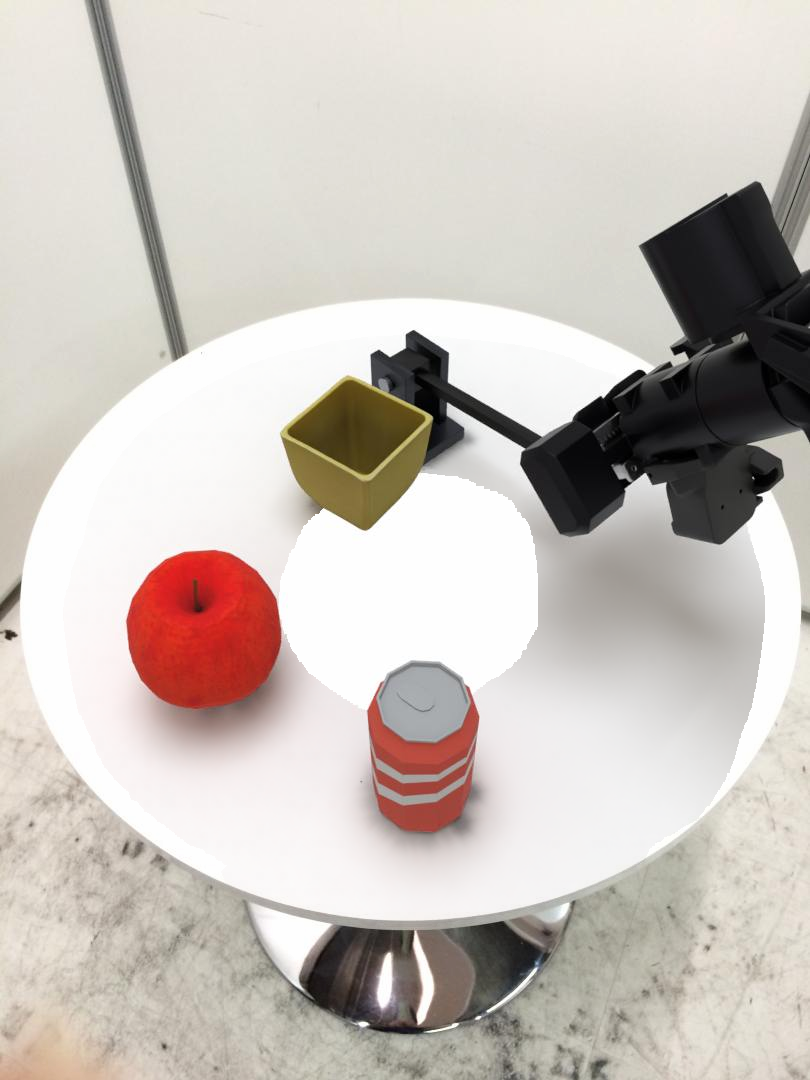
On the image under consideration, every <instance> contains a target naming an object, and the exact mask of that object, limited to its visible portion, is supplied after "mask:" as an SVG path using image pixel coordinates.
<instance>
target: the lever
mask: <svg viewBox="0 0 810 1080" xmlns="http://www.w3.org/2000/svg"><path fill="white" fill-rule="evenodd" d="M390 357H391V358H392V359H394V360H395V361H396V362H398V363H399V364H401V365H402V366H404V367H405V368H407V369H408V370H410V371H411V372H412V373H414V393H415V392H417V391H418V390H420V389H421V388H424V389H425V390H427V391H429V392H430V393H432V394H434V395H435V396H437V397H439V398H440V399H442V400H444V401H445V402H447V404H449V405H451V406H452V407H454V408H456V409H457V410H459V411H460V412H462V413H464V414H465V415H467V416H469V417H471V418H473V419H474V420H476V421H477V422H479V423H481V424H482V425H484V426H486V427H487V428H489V429H491V430H493V431H494V432H496V433H498V434H499V435H501V436H503V437H504V438H506V439H508V440H509V441H511V442H513V443H515V444H516V445H518V446H520V447H521V448H523V449H524V450H525V449H526V448H528V447H529V446H531V445H532V444H533V443H535V442H536V441H538V440H539V439H540V438H542V437H543V436H542V435H540V434H538V433H537V432H535V431H533V430H532V429H529V428H528V427H527V426H524V425H523V424H521V423H520V422H517V421H516V420H514V419H512V418H511V417H509V416H508V415H505V414H504V413H502V412H500V411H499V410H496V409H495V408H493V407H491V406H490V405H489V404H486V403H485V402H483V401H481V400H479V399H478V398H476V397H475V396H472V395H471V394H469V393H467V392H465V391H463V390H462V389H461V388H458V387H457V386H455V385H454V384H451V383H450V382H449V381H448V382H446V381H445V380H443V379H441V378H439V377H438V376H436V375H434V374H432V373H431V372H430V360H429V359H428V358H426V357H424V356H422V355H420V354H419V353H417V352H415V351H413V350H412V349H410V348H408V347H407V348H406V347H405V348H403V349H402V350H400V351H398V352H396V353H395V354H392V355H391V356H390Z"/></svg>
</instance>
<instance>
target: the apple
mask: <svg viewBox="0 0 810 1080" xmlns="http://www.w3.org/2000/svg"><path fill="white" fill-rule="evenodd" d="M280 619H281V617H280V611H279V605H278V600H277V597H276V595H275V594H274V592H273V591H272V589H271V587H270V585H269V584H268V583H267V582H266V580H265V579H264V577H262V575H261V574H260V572H259V571H258V570H256V569H255V568H254V567H252V566H251V565H249V564H248V563H247V562H246V561H244V560H243V559H242V558H240V557H239V556H236V555H235V554H233V553H231V552H227V551H223V550H218V549H208V550H206V549H205V550H189V551H182V552H180V553H177V554H175V555H172V556H170V557H167V558H165V559H163V561H162V562H160V563H159V564H158V565H156V567H154V568H153V569H152V570H151V571H149V572H148V574H147V575H146V577H145V578H144V579H143V581H142V582H141V584H140V586H139V588H137V590H136V592H135V593H134V595H133V596H132V598H131V601H130V605H129V608H128V611H127V615H126V619H125V624H126V625H125V626H126V634H127V644H128V651H129V655H130V658H131V661H132V664H133V666H134V669H135V671H136V673H137V675H138V677H139V679H140V681H141V683H143V684H144V685H145V686H146V687H147V688H148V689H149V690H150V692H151V693H153V694H154V695H155V696H156V697H157V698H158V699H160V700H161V701H164V702H166V703H168V704H170V705H173V706H176V707H179V708H183V709H188V710H189V709H190V710H195V711H197V710H202V709H208V708H209V709H210V708H214V707H221V706H227V705H229V704H232V703H236V702H238V701H240V700H243V699H244V698H246V697H248V696H250V695H252V694H253V693H254V692H256V691H257V690H258V689H259V688H260V687H261V686H262V685H263V684H264V683H265V682H266V681H267V679H268V677H269V676H270V674H271V672H272V670H273V667H274V666H275V664H276V662H277V659H278V656H279V654H280V649H281V646H282V625H281V620H280Z"/></svg>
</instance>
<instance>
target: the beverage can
mask: <svg viewBox="0 0 810 1080" xmlns="http://www.w3.org/2000/svg"><path fill="white" fill-rule="evenodd" d="M366 712H367V727H368V737H369V738H368V739H369V751H370V762H371V763H370V764H371V775H372V776H371V777H372V784H373V789H374V793H375V796H376V801H377V805H378V809H379V812H380V813H381V814H383V815H384V816H385V817H386V818H388V819H389V820H390V821H391V822H393V823H394V824H395V825H396V826H398V827H399V828H400V829H401V830H402V831H408V832H425V833H436V832H437V831H439V830H440V829H442V828H444V827H446V826H447V825H448V824H450V823H452V822H454V821H455V820H457V819H458V818H459V817H461V816H462V813H463V811H464V808H465V805H466V801H467V799H468V797H469V794H470V791H471V788H472V779H473V772H474V765H475V764H474V763H475V757H476V748H477V739H478V731H479V725H480V714H479V711H478V708H477V706H476V702H475V699H474V697H473V693H472V691H471V688H470V686H468V685H467V684H466V683H465V681H464V678H463V677H462V675H460V674H458V673H457V672H455V671H454V670H453V669H451V668H450V667H448V666H447V665H445V664H444V663H443V662H441V661H437V660H436V661H432V660H414V659H413V660H409V661H407V662H405V663H404V664H402V665H400V666H398V667H397V668H395V669H393V670H391V671H389V672H387V673H386V675H385V678H384V679H383V680H382V681H381V682H379V685H378V687H377V689H376V691H375V693H374V695H373V697H372V699H371V702H370V703H369V706H368V708H367V709H366Z"/></svg>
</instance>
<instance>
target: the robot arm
mask: <svg viewBox="0 0 810 1080" xmlns="http://www.w3.org/2000/svg"><path fill="white" fill-rule="evenodd" d="M772 207H773V206H772V203H771V202H770V198H769V197H768V195H767V193H766V191H765V189H764V186H763V185H762V183H761V182H760V181H758V180H755V181H753V182H751V183H749V184H748V185H745V186H744V187H742V188H740V189H738V190H736V191H734V192H733V193H731V194H729V195H728V192H725V193H724V194H722V195H720V196H719V197H717V198H715V199H713V200H712V201H710V202H708V203H706V204H705V205H703V206H702V207H700V208H698V209H697V210H695V211H693V212H691V213H690V214H688V215H687V216H685V217H683V218H682V219H680V220H678V221H676V222H675V223H673V224H671V225H670V226H668V227H666V228H665V229H662V230H661V231H660V232H658V233H657V234H655V235H653V236H652V237H650V238H648V239H646V240H645V241H643V242H642V243H640V244H638V248H639V250H640V252H641V254H642V256H643V258H644V260H645V262H646V264H647V265H648V267H649V269H650V272H651V273H652V275H653V277H654V279H655V281H656V283H657V285H658V287H659V289H660V291H661V293H662V295H663V296H664V298H665V300H666V302H667V304H668V306H669V308H670V310H671V312H672V314H673V316H674V318H675V319H676V322H677V323H678V325H679V327H680V330H681V331H682V333H683V335H684V336H683V337H681V338H680V339H678V340H677V341H676V342H674V343H673V344H671V345H670V346H669V349H670V351H671V353H672V355H673V356H674V357H676V356H679V355H680V354H683V353H684V354H685V356H686V357H687V359H688V360H687V361H684V362H681V363H678V364H676V365H673V363H672V361H671V360H669V361H667V362H664V363H662V364H659V365H658V366H656V367H655V368H653V369H651V371H649V372H648V373H646V371H645V370H643V369H636V370H634V371H633V372H631V373H630V374H629V375H628V376H626V377H624V378H623V379H621V380H620V381H618V382H617V383H616V384H615V385H614V386H613V387H612V388H611V389H610V390H609V391H608V392H607V393H606V395H604V397H603V396H602V395H599V396H598V397H596V398H595V399H594V400H592V401H591V402H590V403H588V404H587V405H585V406H583V407H582V408H581V409H580V410H577V412H576V413H575V414H574V415H573V416H572V419H571V421H568V422H566V423H563V424H562V425H560V426H558V427H556V428H555V429H553V430H550V431H549V432H547V433H546V434H545V435H543V436H542V438H540V439H539V440H538V441H536V442H535V443H533V444H532V445H531V446H529V447H528V448H526V449H525V448H524V450H522V451H521V452H520V453H521V454H520V459H519V466H520V467H521V469H522V471H523V473H524V474H525V476H526V478H527V479H528V481H529V484H531V487H532V489H533V490H534V492H535V494H536V495H537V497H538V499H539V501H540V502H541V504H542V506H543V508H544V509H545V511H546V513H547V514H548V517H549V518H550V520H551V522H552V524H553V525H554V527H555V528H556V530H557V532H558V534H559V535H561V536H565V537H568V538H572V537H578V536H584V535H589V534H590V533H592V532H593V531H594V530H595V529H597V528H598V527H599V526H600V525H602V524H603V523H604V522H605V521H606V520H607V519H609V518H610V517H611V516H613V514H615V513H616V512H618V511H619V510H620V509H621V508H622V507H623V506H624V501H625V497H626V492H627V490H626V489H627V488H628V487H629V486H631V484H633V483H634V482H636V481H637V480H638V479H640V478H641V477H642V476H644V475H645V474H646V476H647V478H648V480H649V482H650V484H651V485H652V486H655V485H657V486H658V485H661V484H665V483H666V484H665V491H666V492H665V493H666V497H667V502H668V505H669V506H668V507H669V510H670V514H671V518H672V521H671V522H670V526H671V530H672V532H673V533H674V535H675V536H677V537H683V538H686V539H691V540H696V541H700V542H703V543H709V544H713V545H717V546H721V545H723V544H725V543H726V542H727V541H728V540H729V539H730V538H732V536H734V535H735V534H736V533H737V532H738V531H739V530H740V529H741V528H743V527H744V525H746V524H747V523H748V522H749V521H750V520H752V518H753V516H754V515H755V512H756V509H757V508H758V507H759V506H760V505H761V504H762V503H763V502H764V498H763V496H762V495H761V494H765V493H768V492H769V491H771V490H772V489H773V488H774V487H775V486H776V485H777V484H779V483H780V482H781V481H782V480H783V479H784V477H785V472H784V466H783V460H782V459H781V458H780V457H778V456H776V455H775V454H773V453H771V452H769V451H768V450H766V449H764V448H762V447H761V446H758V445H753V443H757V442H761V441H764V440H768V439H773V438H777V437H781V436H784V435H785V436H786V435H788V434H793V433H796V432H801V431H803V433H804V434H805V437H806V438H807V440H808V443H809V444H810V268H809V269H806V270H804V271H802V272H801V271H800V269H799V267H798V265H797V263H796V260H795V259H794V257H793V255H792V253H791V251H790V248H789V247H788V244H787V242H786V240H785V238H784V236H783V234H782V232H781V230H780V228H779V226H778V224H777V221H776V219H775V217H774V213H773V208H772ZM743 333H745V335H746V337H745V338H743V339H741V340H737V341H735V342H734V339H733V338H735V337H737V336H739V335H741V334H743Z"/></svg>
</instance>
